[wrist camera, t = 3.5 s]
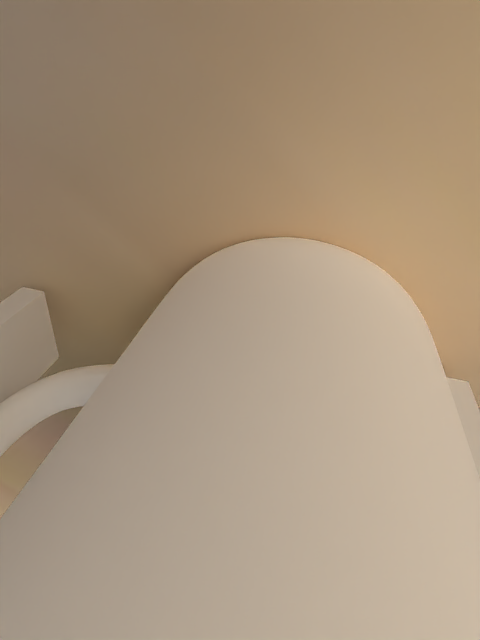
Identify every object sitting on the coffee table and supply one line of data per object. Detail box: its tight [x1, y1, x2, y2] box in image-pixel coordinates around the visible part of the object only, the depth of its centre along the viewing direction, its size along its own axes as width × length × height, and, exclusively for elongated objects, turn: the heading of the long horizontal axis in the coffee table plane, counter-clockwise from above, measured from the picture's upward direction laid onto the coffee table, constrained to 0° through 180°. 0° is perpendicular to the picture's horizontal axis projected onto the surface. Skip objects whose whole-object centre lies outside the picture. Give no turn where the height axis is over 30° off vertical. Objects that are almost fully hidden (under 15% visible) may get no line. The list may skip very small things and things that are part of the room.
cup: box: [0, 237, 480, 640], centre depth 9 cm, size 8×12×10 cm
